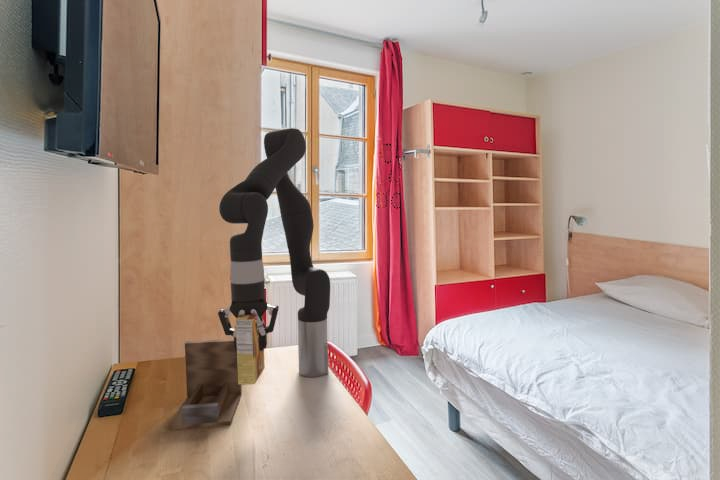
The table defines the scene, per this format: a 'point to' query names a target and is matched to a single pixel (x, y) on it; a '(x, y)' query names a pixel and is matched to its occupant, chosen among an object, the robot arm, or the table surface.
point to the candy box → (248, 350)
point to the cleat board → (209, 385)
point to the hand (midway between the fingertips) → (251, 350)
